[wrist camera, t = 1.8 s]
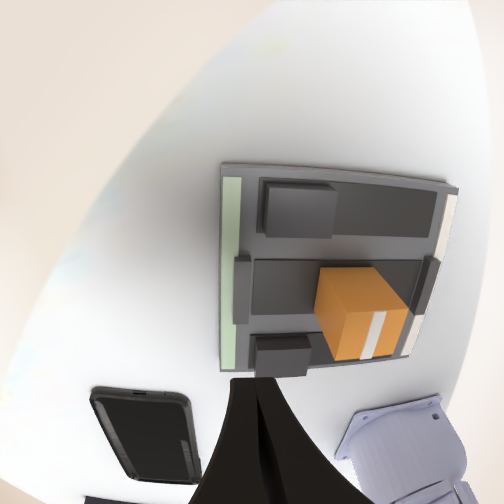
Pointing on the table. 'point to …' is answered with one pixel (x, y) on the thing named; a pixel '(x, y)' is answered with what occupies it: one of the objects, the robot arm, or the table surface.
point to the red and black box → (102, 501)
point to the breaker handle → (358, 312)
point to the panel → (319, 256)
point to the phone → (150, 434)
